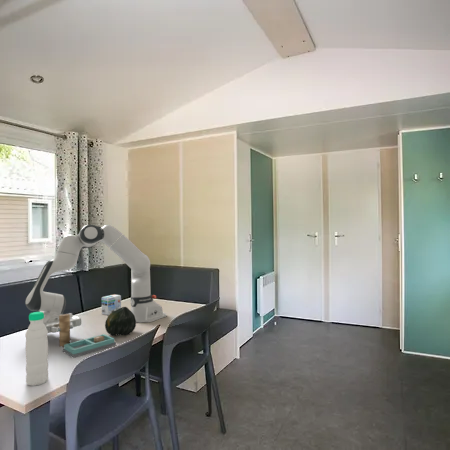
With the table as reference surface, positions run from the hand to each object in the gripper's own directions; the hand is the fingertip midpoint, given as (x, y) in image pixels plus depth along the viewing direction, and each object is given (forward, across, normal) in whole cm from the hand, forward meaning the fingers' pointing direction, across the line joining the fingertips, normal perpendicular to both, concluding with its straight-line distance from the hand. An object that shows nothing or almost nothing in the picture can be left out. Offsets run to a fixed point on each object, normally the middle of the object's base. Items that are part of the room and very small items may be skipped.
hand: (65, 328), depth 157 cm
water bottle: (+30, -22, +8) cm, 38 cm away
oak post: (-1, 0, +8) cm, 8 cm away
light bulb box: (-38, +44, +8) cm, 59 cm away
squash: (+5, +26, +8) cm, 28 cm away
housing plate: (+12, +6, +8) cm, 16 cm away
